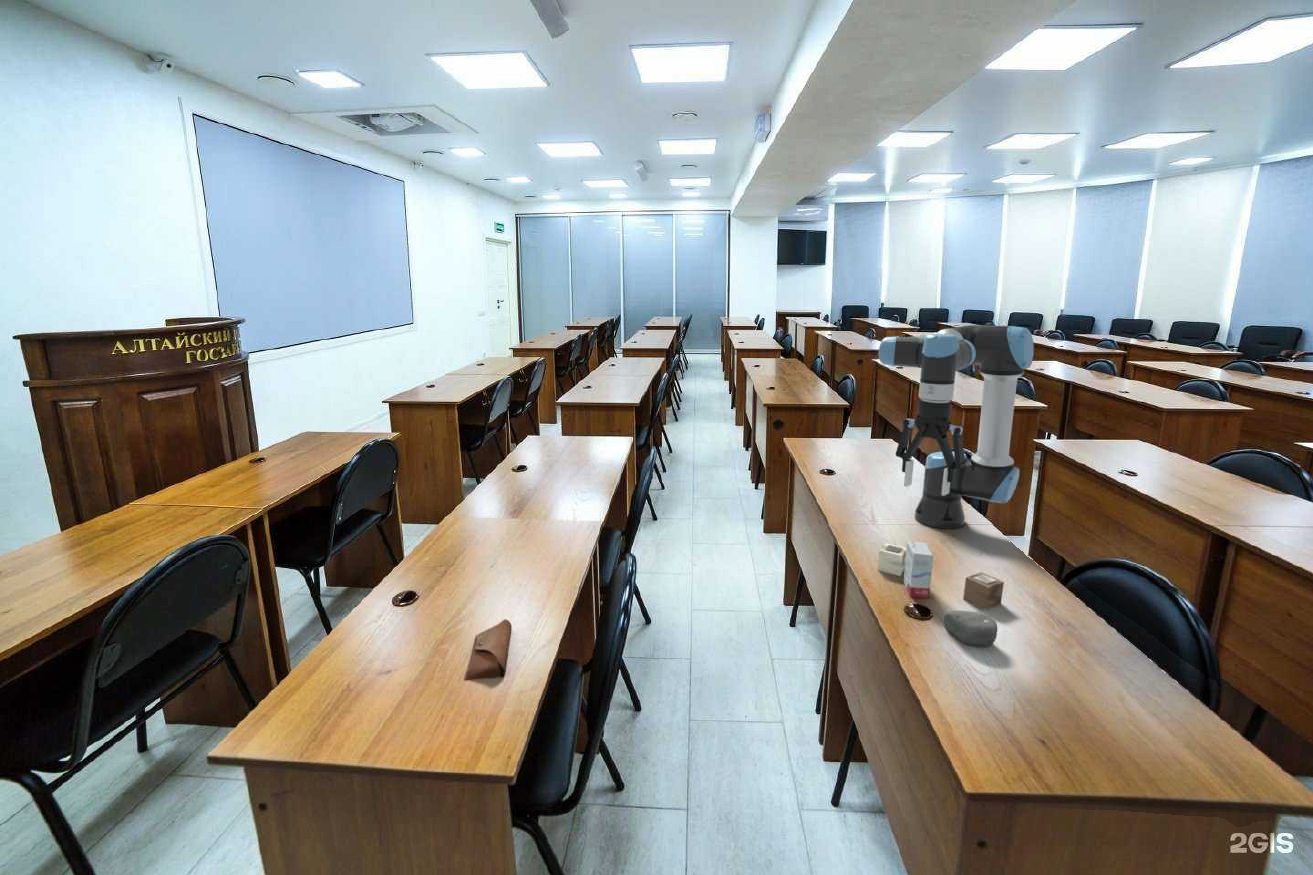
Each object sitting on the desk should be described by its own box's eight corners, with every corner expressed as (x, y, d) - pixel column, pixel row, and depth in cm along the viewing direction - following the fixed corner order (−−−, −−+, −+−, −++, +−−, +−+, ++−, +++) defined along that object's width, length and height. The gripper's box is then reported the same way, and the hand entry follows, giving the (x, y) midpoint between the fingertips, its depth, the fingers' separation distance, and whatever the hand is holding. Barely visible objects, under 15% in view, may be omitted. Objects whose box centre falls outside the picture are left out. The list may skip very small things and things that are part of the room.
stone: (976, 622, 144) (990, 598, 138) (990, 658, 138) (1006, 634, 131) (937, 622, 145) (949, 597, 138) (949, 657, 138) (963, 634, 131)
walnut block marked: (978, 593, 158) (981, 571, 156) (1000, 603, 152) (1004, 581, 151) (963, 599, 155) (966, 576, 153) (985, 610, 150) (988, 586, 148)
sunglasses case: (474, 633, 142) (487, 609, 141) (502, 644, 144) (515, 621, 143) (463, 681, 125) (478, 655, 124) (495, 693, 127) (510, 667, 126)
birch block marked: (884, 562, 175) (886, 542, 174) (906, 568, 172) (908, 547, 170) (877, 570, 171) (879, 549, 169) (899, 576, 167) (901, 555, 166)
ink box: (929, 598, 155) (934, 555, 152) (909, 597, 156) (913, 554, 153) (922, 583, 163) (926, 541, 160) (903, 581, 164) (906, 540, 161)
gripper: (885, 396, 152) (878, 483, 158) (976, 408, 137) (964, 503, 143) (899, 392, 157) (892, 476, 163) (988, 403, 142) (977, 496, 148)
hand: (926, 489), depth 153 cm, fingers open, 9 cm apart
